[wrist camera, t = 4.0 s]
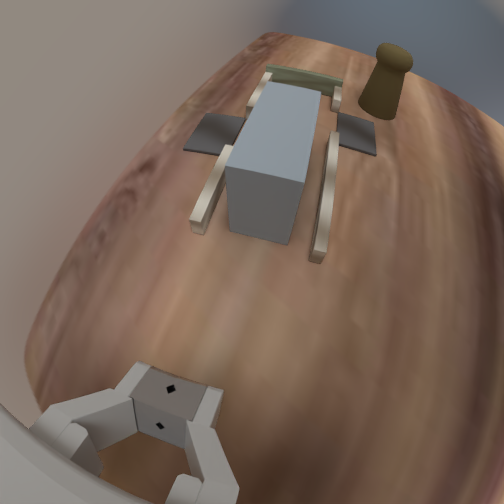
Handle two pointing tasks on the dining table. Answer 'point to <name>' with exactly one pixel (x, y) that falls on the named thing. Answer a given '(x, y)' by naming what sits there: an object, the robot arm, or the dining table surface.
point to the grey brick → (271, 162)
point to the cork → (386, 81)
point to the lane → (228, 127)
